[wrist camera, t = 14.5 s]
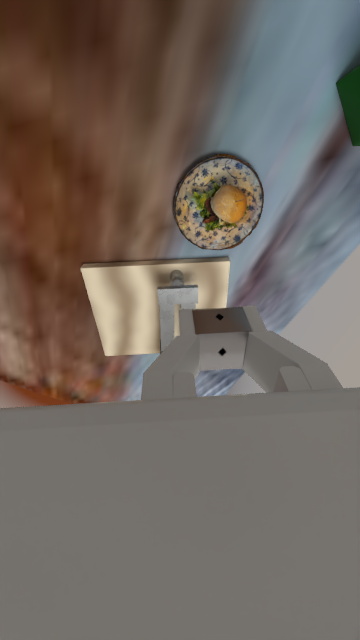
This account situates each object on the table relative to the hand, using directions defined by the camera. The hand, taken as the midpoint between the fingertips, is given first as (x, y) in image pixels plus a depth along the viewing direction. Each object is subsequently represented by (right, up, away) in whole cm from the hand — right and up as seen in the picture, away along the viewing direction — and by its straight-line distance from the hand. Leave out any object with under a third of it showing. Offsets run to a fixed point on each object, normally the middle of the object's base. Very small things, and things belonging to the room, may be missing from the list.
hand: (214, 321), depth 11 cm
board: (-5, +2, +35) cm, 35 cm away
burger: (+4, +16, +25) cm, 30 cm away
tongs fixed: (-2, +1, +34) cm, 34 cm away
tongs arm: (-4, -1, +35) cm, 35 cm away
